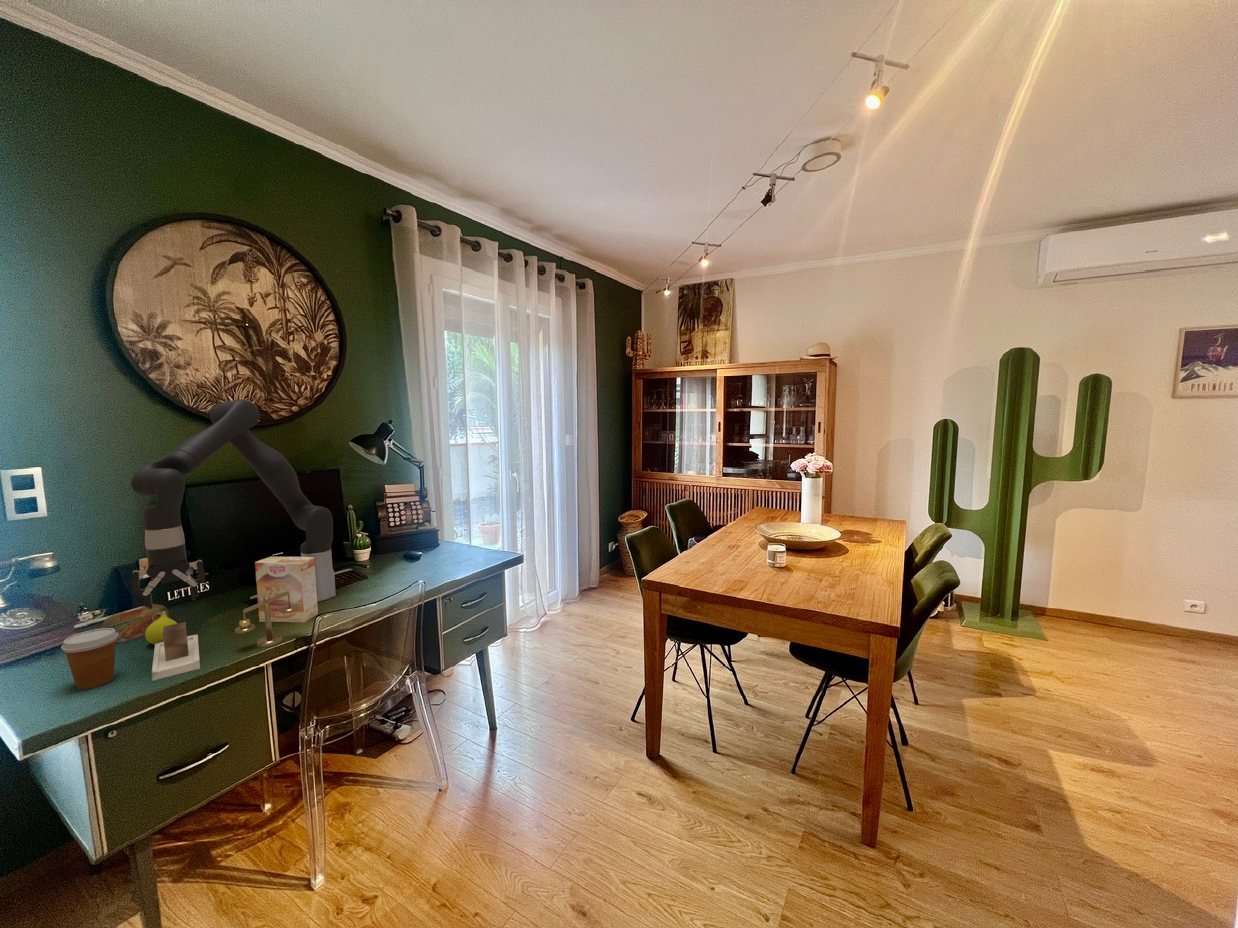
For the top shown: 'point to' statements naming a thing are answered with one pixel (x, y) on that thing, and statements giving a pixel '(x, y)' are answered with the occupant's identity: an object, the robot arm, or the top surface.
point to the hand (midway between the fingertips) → (172, 603)
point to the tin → (134, 621)
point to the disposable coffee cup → (91, 657)
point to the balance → (266, 621)
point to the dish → (175, 660)
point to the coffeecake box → (287, 587)
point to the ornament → (158, 629)
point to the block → (175, 641)
